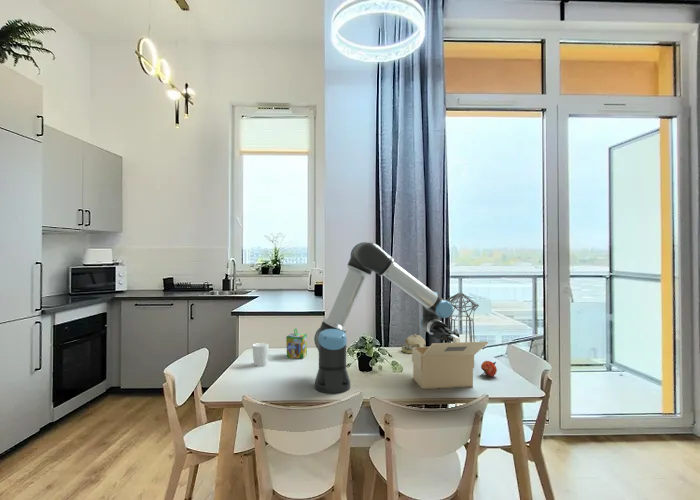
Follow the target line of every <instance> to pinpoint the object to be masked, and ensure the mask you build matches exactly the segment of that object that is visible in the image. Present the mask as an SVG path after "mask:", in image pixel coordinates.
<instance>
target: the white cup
mask: <svg viewBox="0 0 700 500" xmlns="http://www.w3.org/2000/svg"><path fill="white" fill-rule="evenodd" d="M269 346H270V344H269V343H267V342H257V343H253V344H252V357H253V366H255V365H257V366H256V367H263V366H262V365H265V366H267V365H268V364H267V363H268V362H269V348H270V347H269ZM266 364H267V365H266Z"/></svg>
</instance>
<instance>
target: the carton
mask: <svg viewBox="0 0 700 500" xmlns="http://www.w3.org/2000/svg"><path fill="white" fill-rule="evenodd" d="M429 347H430V346H424V347H413V348H412V353H411V362H412V366H413V367H412V368H413V369H412V370H413V371H412V379H413V381H414V382H416V384H417V385H418V386H419V387H420V389H422V390H432V389H433V390H435V389H436V390H437V388H440V389H456V388H455V387H463V388H473V387H474V369H475V355H452V356H423V354H424V353H425V352H426V350H427V349H428V348H429ZM453 387H454V388H453Z"/></svg>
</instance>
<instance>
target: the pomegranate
mask: <svg viewBox="0 0 700 500" xmlns="http://www.w3.org/2000/svg"><path fill="white" fill-rule="evenodd" d="M496 364H497V362H496V361H495V362H492V361H490V360H485V361H483V362H482V363H481V365H480V368H481V370H482V371H483V373H481V374H480V375H479V377H481V376H483V375H484V374H485V375H486V376H488V377H490V378H493V377H494V376H496V374H497V372H498V369H497V366H496Z"/></svg>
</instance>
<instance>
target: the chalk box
mask: <svg viewBox="0 0 700 500" xmlns="http://www.w3.org/2000/svg"><path fill="white" fill-rule="evenodd" d="M293 331H294V333H289V334H288V335H287V336H286V337H285V338H286V358H287V357H288V358H287V359H302V358H303V359H304V358H305V357H306V356H307V355H306V354H308V353H307V352H308V350H307V349H308V348H307V347H308V346H307V345H308V341H307V340H308V338H307V336H308V334H307V333H298V330H297V328H294V329H293ZM305 355H306V356H305Z"/></svg>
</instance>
